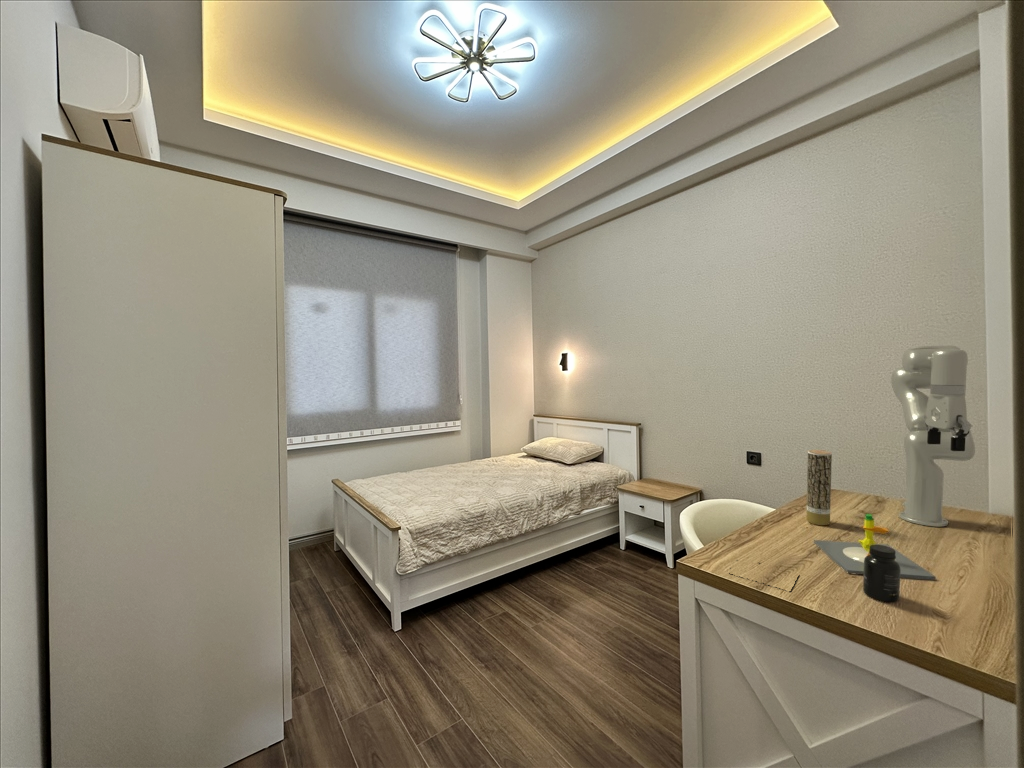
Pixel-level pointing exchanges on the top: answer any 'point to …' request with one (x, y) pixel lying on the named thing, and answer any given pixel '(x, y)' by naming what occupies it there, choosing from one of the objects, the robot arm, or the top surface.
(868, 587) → the supplement bottle
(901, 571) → the slate tile
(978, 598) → the top surface
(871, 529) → the toy figure
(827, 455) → the paper tube
